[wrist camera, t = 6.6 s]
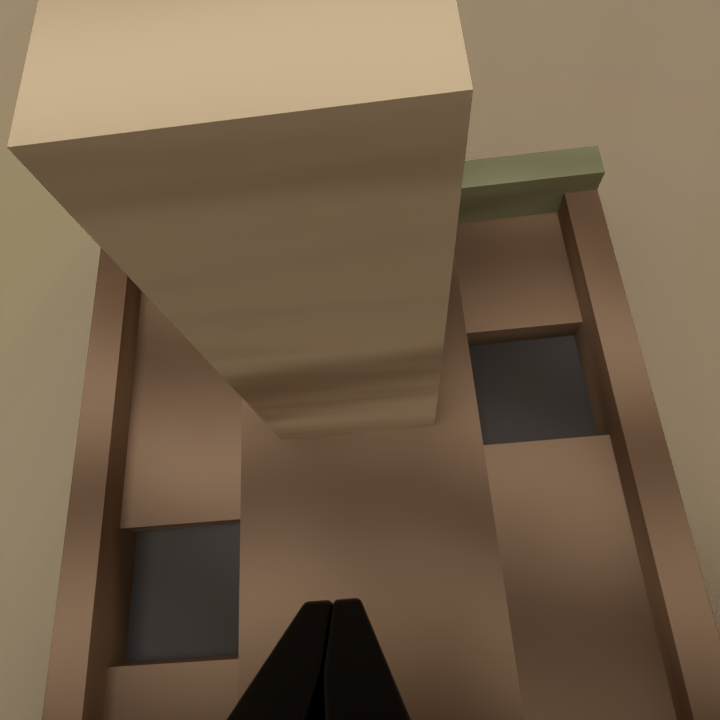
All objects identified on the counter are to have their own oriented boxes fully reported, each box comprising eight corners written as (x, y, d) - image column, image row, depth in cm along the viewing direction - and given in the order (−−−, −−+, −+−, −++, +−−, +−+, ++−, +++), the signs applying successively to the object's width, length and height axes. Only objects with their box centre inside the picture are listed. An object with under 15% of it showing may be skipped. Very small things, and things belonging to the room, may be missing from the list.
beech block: (434, 425, 16) (472, 89, 5) (280, 439, 17) (7, 146, 5) (413, 249, 19) (408, -251, 7) (278, 263, 19) (80, -197, 8)
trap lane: (750, 919, 13) (843, 1013, 10) (67, 942, 14) (-22, 1033, 11) (572, 206, 20) (597, 145, 17) (134, 254, 21) (91, 204, 18)
